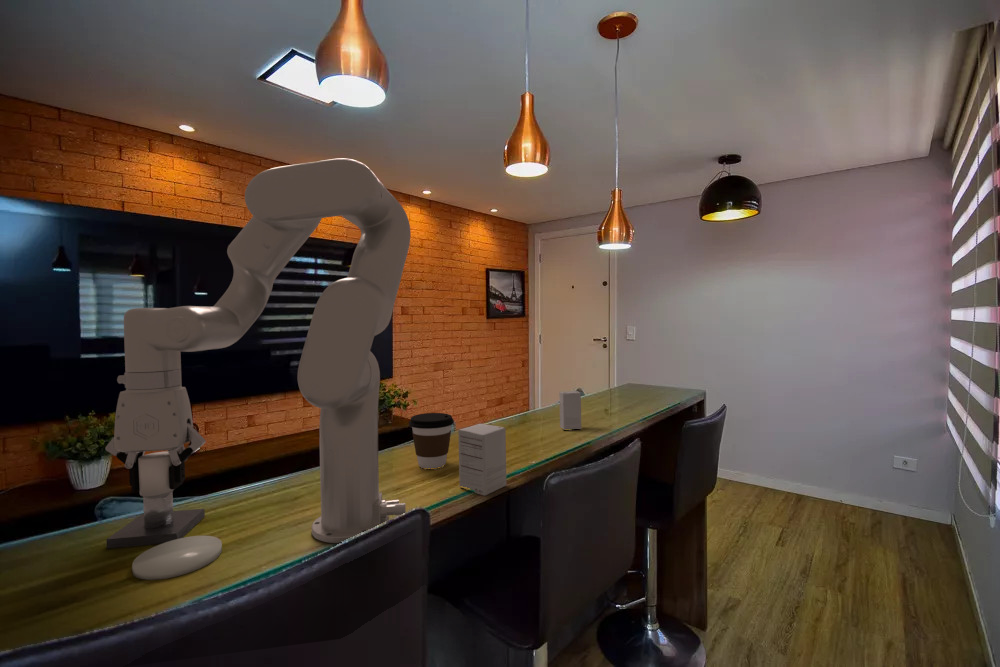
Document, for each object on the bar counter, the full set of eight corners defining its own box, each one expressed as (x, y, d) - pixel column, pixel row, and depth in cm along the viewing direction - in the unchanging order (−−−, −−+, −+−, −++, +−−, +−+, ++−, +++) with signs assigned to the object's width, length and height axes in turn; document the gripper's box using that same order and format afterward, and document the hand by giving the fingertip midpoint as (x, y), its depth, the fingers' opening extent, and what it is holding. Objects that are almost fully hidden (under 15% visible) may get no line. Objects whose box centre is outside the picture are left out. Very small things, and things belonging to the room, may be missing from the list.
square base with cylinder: (204, 516, 85) (203, 478, 84) (177, 542, 75) (175, 499, 75) (143, 521, 83) (141, 482, 83) (106, 548, 73) (105, 504, 73)
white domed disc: (233, 538, 76) (232, 532, 76) (203, 574, 65) (202, 567, 65) (158, 545, 74) (157, 539, 74) (114, 583, 63) (114, 576, 63)
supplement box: (481, 479, 103) (480, 422, 103) (507, 486, 99) (506, 427, 98) (458, 488, 98) (457, 428, 97) (484, 496, 93) (483, 434, 92)
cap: (167, 494, 77) (166, 458, 77) (133, 497, 76) (131, 461, 76) (184, 482, 82) (182, 449, 82) (152, 484, 82) (151, 451, 81)
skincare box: (577, 427, 151) (577, 390, 151) (582, 430, 147) (581, 392, 147) (559, 428, 150) (558, 391, 150) (563, 431, 146) (563, 393, 146)
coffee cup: (456, 458, 119) (455, 412, 118) (453, 472, 108) (452, 421, 107) (413, 459, 118) (412, 412, 118) (405, 473, 107) (404, 422, 107)
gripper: (80, 386, 73) (85, 500, 73) (199, 382, 76) (203, 492, 77) (111, 380, 80) (115, 484, 81) (218, 376, 83) (221, 477, 84)
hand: (158, 486), depth 79 cm, fingers closed on cap, 4 cm apart
